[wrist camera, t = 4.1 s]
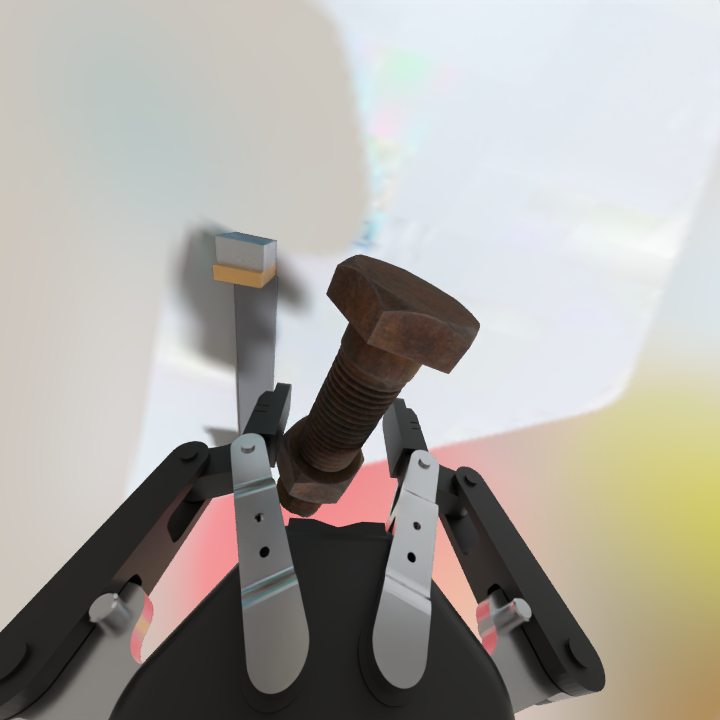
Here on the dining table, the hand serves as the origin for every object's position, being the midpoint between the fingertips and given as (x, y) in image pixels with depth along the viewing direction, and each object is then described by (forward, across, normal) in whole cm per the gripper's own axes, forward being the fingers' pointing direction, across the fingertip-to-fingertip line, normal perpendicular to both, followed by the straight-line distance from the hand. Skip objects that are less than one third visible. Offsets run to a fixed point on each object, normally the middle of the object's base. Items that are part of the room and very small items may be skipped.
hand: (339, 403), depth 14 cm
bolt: (+1, 0, 0) cm, 1 cm away
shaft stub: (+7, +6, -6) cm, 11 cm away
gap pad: (+7, +7, +4) cm, 10 cm away
